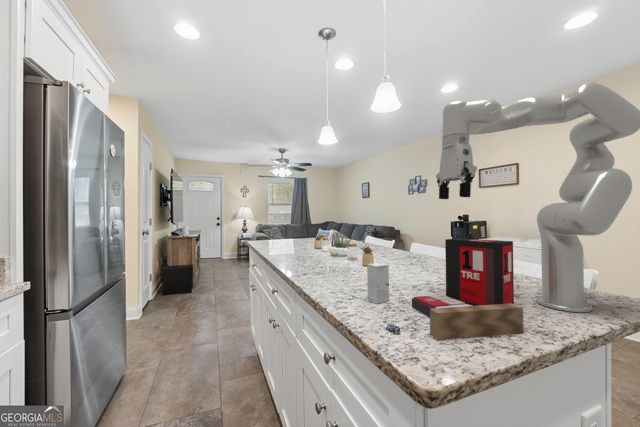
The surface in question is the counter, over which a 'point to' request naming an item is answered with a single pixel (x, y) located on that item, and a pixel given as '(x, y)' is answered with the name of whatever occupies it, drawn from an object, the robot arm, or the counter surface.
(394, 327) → the blueberries
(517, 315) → the walnut board
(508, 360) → the counter surface
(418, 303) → the calculator
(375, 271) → the skincare box
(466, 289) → the cleaning product box
